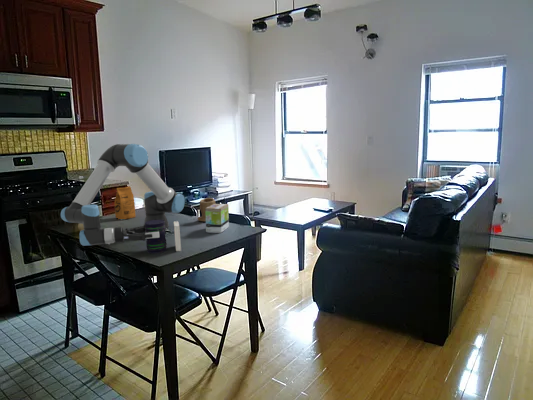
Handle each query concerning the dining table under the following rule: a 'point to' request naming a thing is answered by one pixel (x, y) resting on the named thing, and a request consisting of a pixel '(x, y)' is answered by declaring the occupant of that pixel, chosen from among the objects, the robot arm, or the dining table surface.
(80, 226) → the bread roll
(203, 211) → the stone cup
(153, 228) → the storage jar
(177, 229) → the tile
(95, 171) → the robot arm
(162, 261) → the dining table surface
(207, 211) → the tea box
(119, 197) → the coffee package
